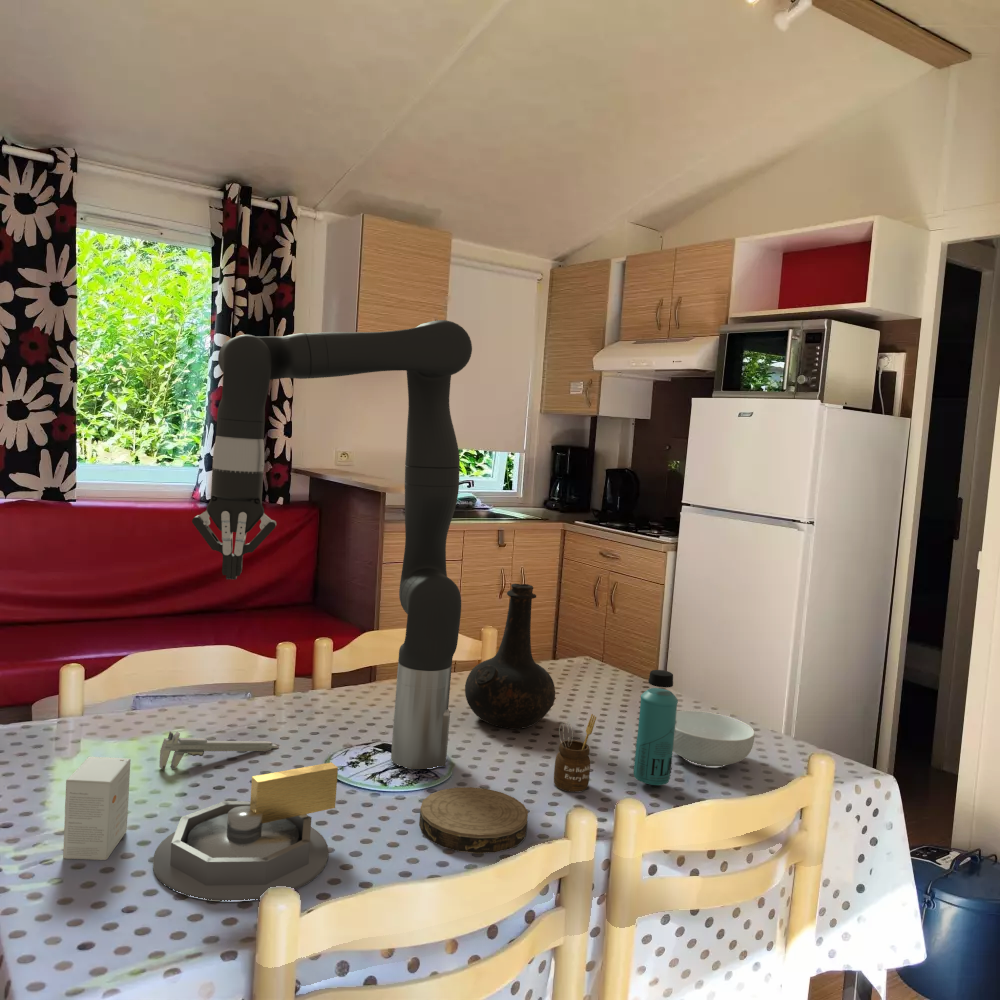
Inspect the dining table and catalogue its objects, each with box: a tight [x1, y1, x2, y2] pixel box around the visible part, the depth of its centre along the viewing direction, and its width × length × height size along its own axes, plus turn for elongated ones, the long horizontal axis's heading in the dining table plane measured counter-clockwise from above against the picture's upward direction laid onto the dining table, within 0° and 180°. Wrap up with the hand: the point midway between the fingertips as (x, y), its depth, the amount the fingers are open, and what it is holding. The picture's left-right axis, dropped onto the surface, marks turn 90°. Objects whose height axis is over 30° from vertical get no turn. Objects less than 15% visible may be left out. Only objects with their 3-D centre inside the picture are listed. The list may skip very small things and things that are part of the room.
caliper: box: [159, 731, 279, 771], centre depth 149 cm, size 20×1×6 cm, turn 132°
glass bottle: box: [464, 583, 556, 730], centre depth 178 cm, size 18×18×28 cm
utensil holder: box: [553, 713, 597, 793], centre depth 149 cm, size 6×6×12 cm
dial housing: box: [152, 800, 329, 901], centre depth 117 cm, size 22×22×4 cm
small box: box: [62, 756, 131, 861], centre depth 117 cm, size 8×6×10 cm
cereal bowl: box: [672, 710, 756, 766], centre depth 167 cm, size 17×17×7 cm
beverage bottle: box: [633, 669, 679, 786], centre depth 151 cm, size 6×7×20 cm
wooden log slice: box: [418, 786, 529, 855], centre depth 131 cm, size 16×16×3 cm
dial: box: [187, 762, 339, 858], centre depth 118 cm, size 20×14×9 cm
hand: (231, 578), depth 138 cm, fingers closed
